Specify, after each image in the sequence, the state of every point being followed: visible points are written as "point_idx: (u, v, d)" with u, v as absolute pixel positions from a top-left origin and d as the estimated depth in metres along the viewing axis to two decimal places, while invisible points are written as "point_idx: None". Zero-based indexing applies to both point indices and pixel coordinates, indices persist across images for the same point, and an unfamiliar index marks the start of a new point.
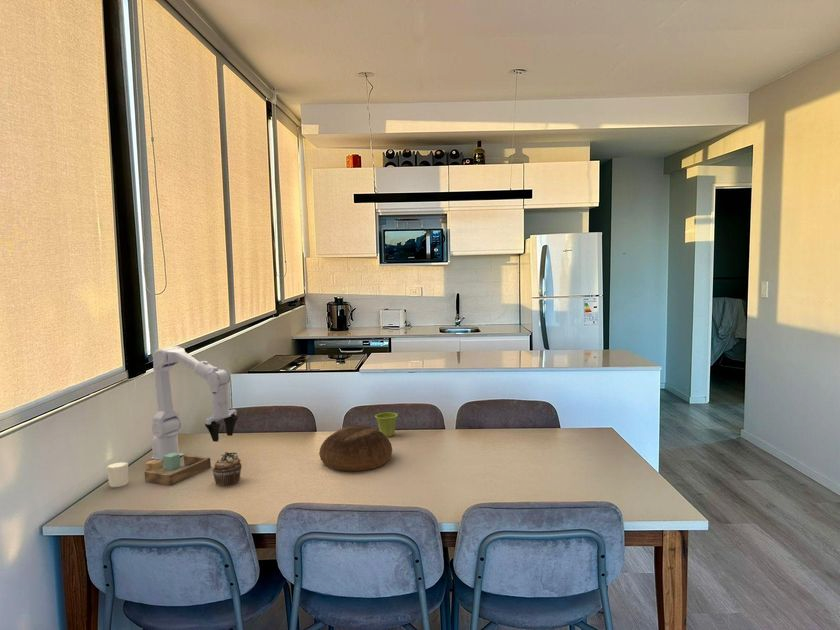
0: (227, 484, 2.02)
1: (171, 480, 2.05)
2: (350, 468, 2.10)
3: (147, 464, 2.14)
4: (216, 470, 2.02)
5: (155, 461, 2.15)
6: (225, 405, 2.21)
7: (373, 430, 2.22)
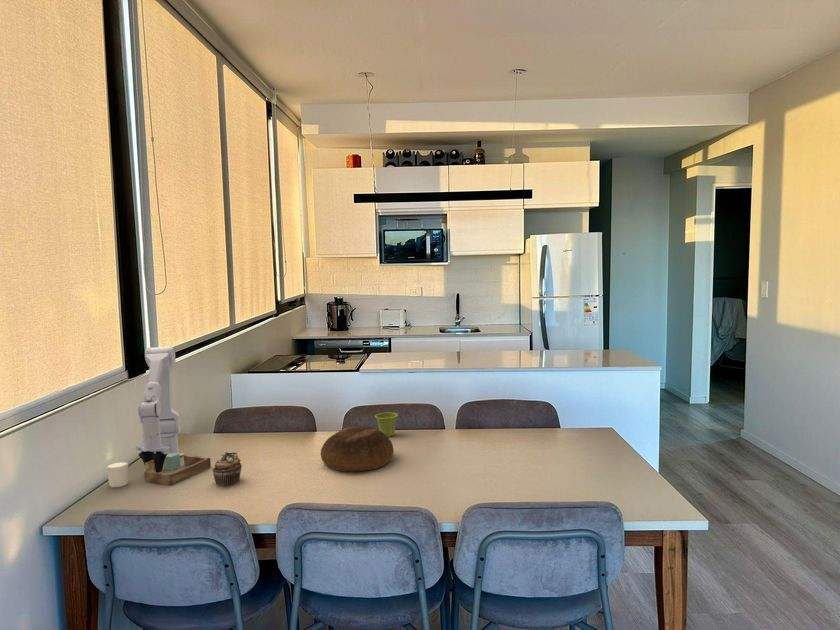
0: (227, 484, 2.02)
1: (171, 480, 2.05)
2: (351, 469, 2.09)
3: (147, 464, 2.14)
4: (216, 470, 2.02)
5: None
6: (144, 438, 2.12)
7: (374, 430, 2.21)
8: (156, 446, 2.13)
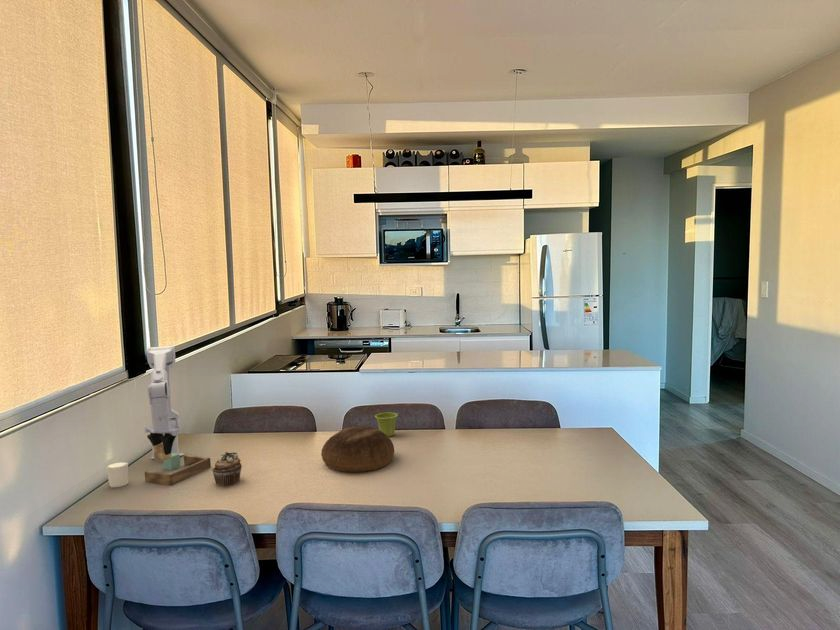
0: (227, 484, 2.02)
1: (171, 480, 2.05)
2: (352, 469, 2.09)
3: (155, 447, 2.11)
4: (216, 470, 2.02)
5: None
6: (153, 420, 2.09)
7: (375, 431, 2.21)
8: (165, 428, 2.10)
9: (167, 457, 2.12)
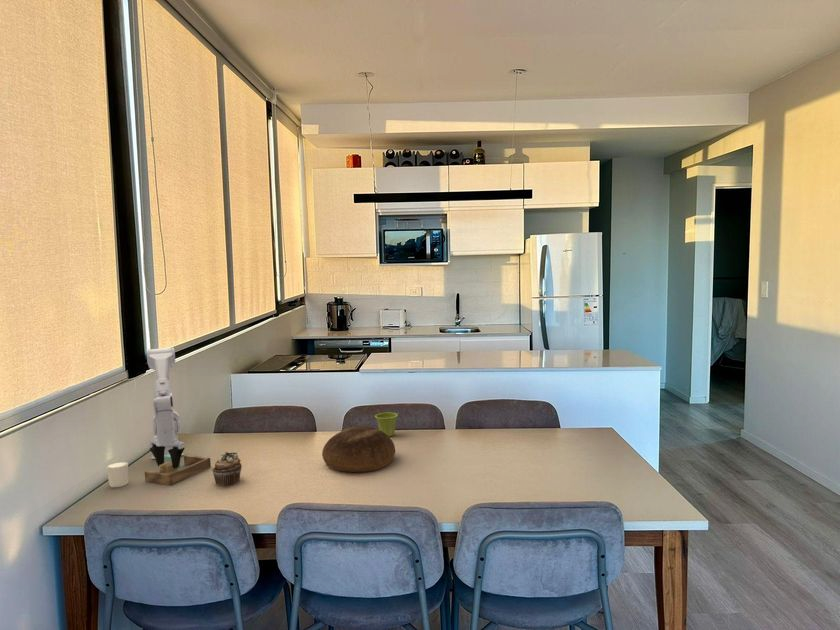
0: (227, 484, 2.02)
1: (171, 480, 2.05)
2: (353, 469, 2.08)
3: (161, 466, 2.11)
4: (216, 470, 2.02)
5: (169, 463, 2.12)
6: (158, 433, 2.09)
7: (376, 431, 2.21)
8: (170, 441, 2.10)
9: None
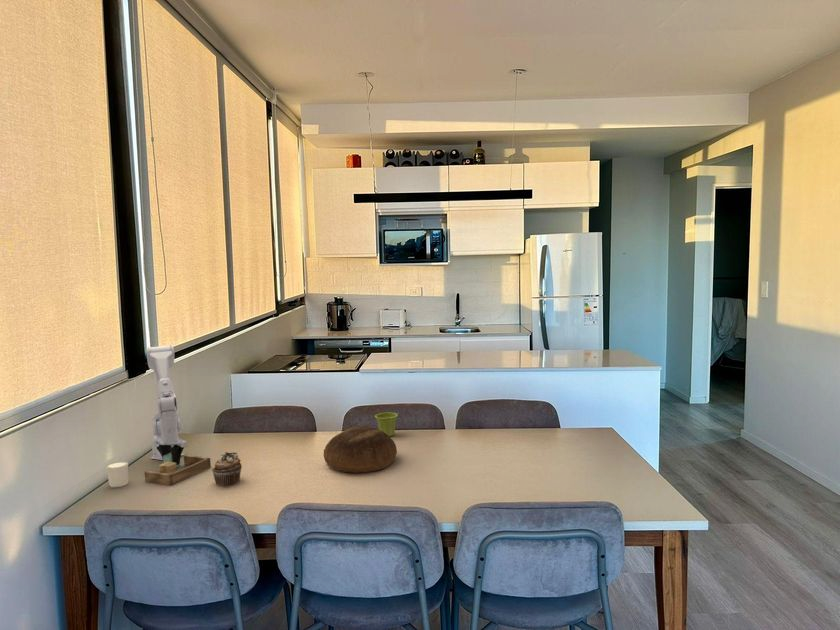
0: (227, 484, 2.02)
1: (171, 480, 2.05)
2: (354, 470, 2.08)
3: (161, 466, 2.11)
4: (216, 470, 2.02)
5: (169, 463, 2.12)
6: (162, 432, 2.19)
7: (378, 431, 2.20)
8: (173, 440, 2.20)
9: None
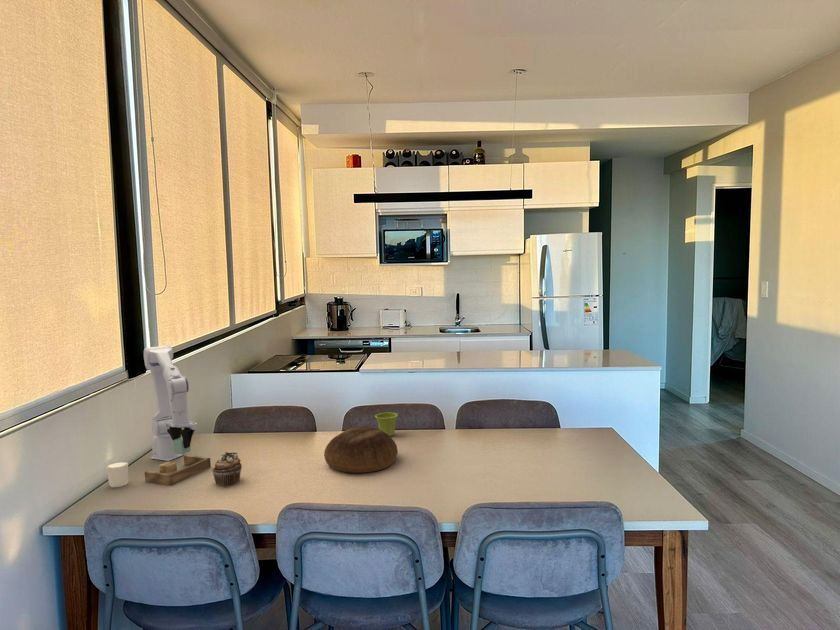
0: (227, 484, 2.02)
1: (171, 480, 2.05)
2: (355, 470, 2.08)
3: (161, 466, 2.11)
4: (216, 470, 2.02)
5: (169, 463, 2.12)
6: (173, 414, 2.16)
7: (378, 432, 2.20)
8: (184, 422, 2.17)
9: None
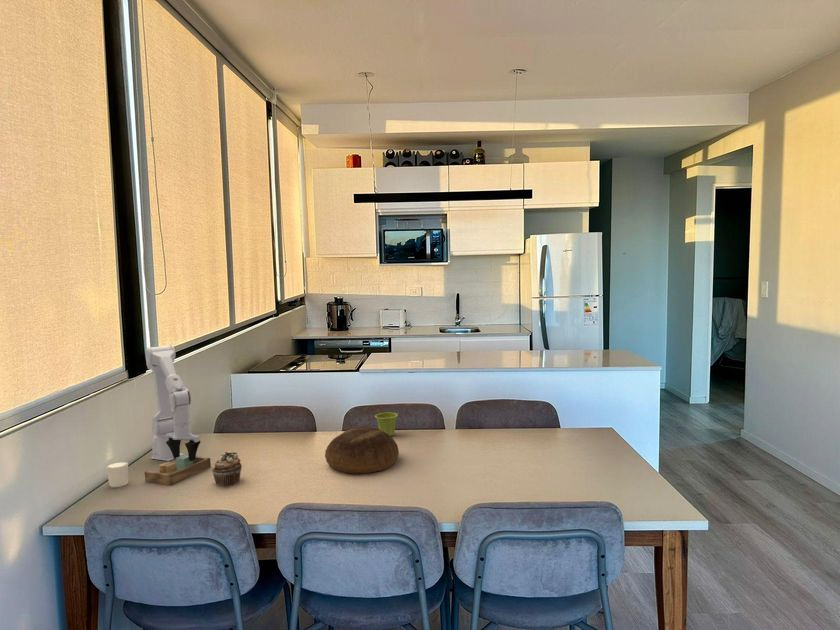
0: (227, 484, 2.02)
1: (171, 480, 2.05)
2: (356, 470, 2.07)
3: (161, 466, 2.11)
4: (216, 470, 2.02)
5: (169, 463, 2.12)
6: (175, 427, 2.16)
7: (379, 432, 2.19)
8: (186, 434, 2.17)
9: None
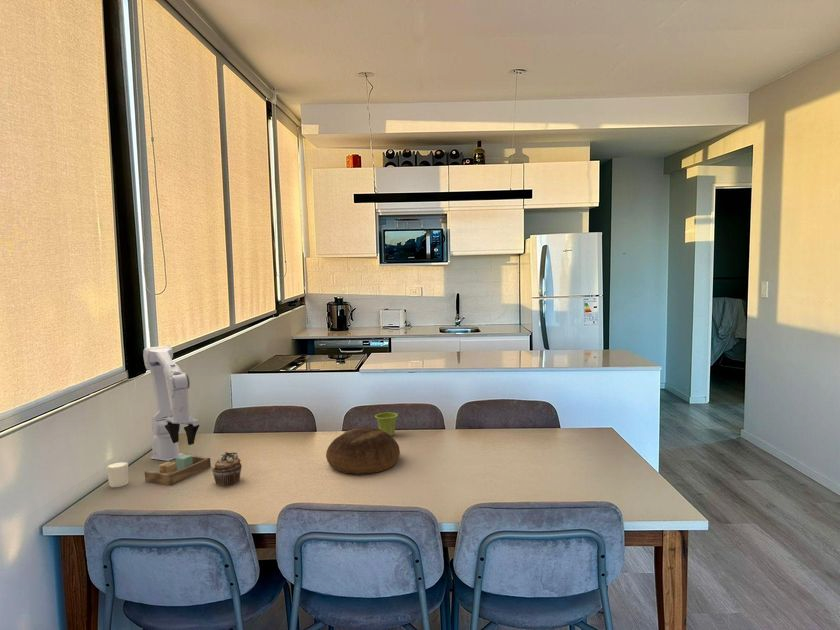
0: (227, 484, 2.02)
1: (171, 480, 2.05)
2: (357, 471, 2.07)
3: (161, 466, 2.11)
4: (216, 470, 2.02)
5: (169, 463, 2.12)
6: (173, 410, 2.16)
7: (380, 432, 2.19)
8: (185, 418, 2.17)
9: None
